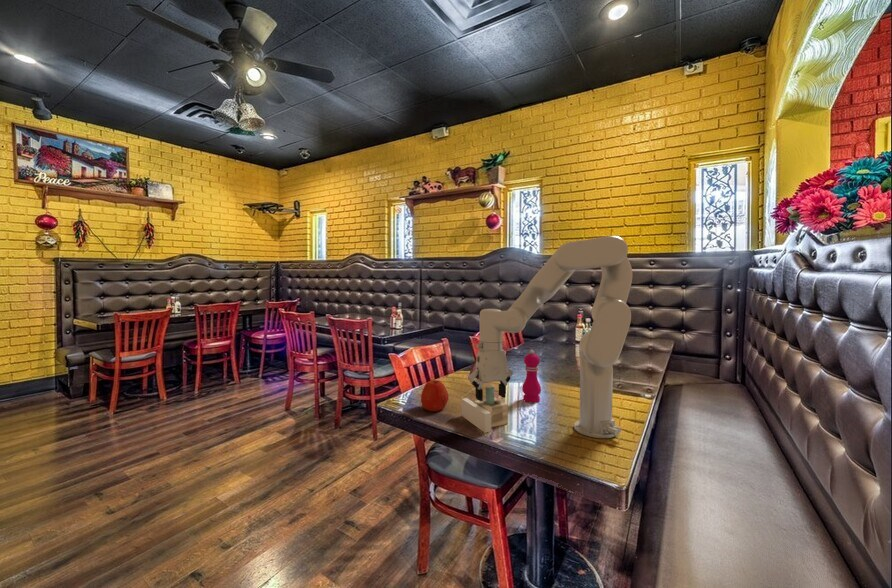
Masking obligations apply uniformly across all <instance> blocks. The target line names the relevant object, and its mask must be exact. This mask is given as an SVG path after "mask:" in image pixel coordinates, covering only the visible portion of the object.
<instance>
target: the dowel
mask: <svg viewBox="0 0 892 588" xmlns="http://www.w3.org/2000/svg"><path fill="white" fill-rule="evenodd" d="M494 398H495V387H494V386H485V399H486V404H487V405H494Z"/></svg>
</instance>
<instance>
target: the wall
mask: <svg viewBox="0 0 892 588" xmlns="http://www.w3.org/2000/svg"><path fill="white" fill-rule="evenodd" d="M461 417H462V418H464V419H466V421H468V422H470V423H471V424H472V425H473V426H475V427H477V428H478V429H479V430H480V431H482V432H483V433H484V434H486V433H487V432H488V433H491V432H492V427H491V413H490V412H489V411H487V410H485V409H484V408H482V407H480V406H479V405H477V404H476V403H474V401H472V400H471V399H469V398H468V397H465V398H461Z"/></svg>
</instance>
